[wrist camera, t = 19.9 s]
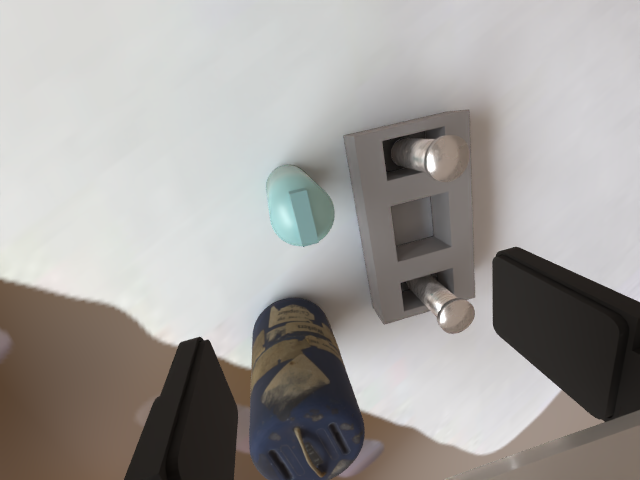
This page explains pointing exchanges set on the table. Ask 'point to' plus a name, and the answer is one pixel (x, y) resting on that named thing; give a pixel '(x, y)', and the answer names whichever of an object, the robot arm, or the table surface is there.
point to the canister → (300, 396)
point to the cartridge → (298, 206)
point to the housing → (404, 186)
